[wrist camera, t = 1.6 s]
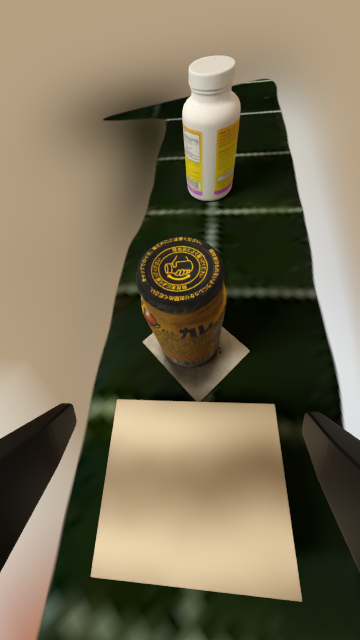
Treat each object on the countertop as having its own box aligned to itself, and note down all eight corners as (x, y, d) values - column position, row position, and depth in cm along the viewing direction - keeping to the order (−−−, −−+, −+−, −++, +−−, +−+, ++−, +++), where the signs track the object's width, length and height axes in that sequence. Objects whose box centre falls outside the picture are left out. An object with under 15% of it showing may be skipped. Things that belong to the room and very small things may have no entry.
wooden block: (279, 560, 15) (302, 601, 12) (114, 543, 17) (90, 577, 13) (261, 407, 20) (274, 404, 16) (132, 403, 21) (117, 399, 17)
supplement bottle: (233, 175, 34) (248, 48, 23) (229, 204, 31) (244, 76, 20) (191, 174, 35) (185, 53, 24) (184, 202, 33) (173, 80, 21)
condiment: (191, 300, 25) (183, 208, 14) (249, 351, 22) (294, 281, 11) (142, 342, 24) (92, 273, 13) (198, 404, 20) (192, 381, 10)
